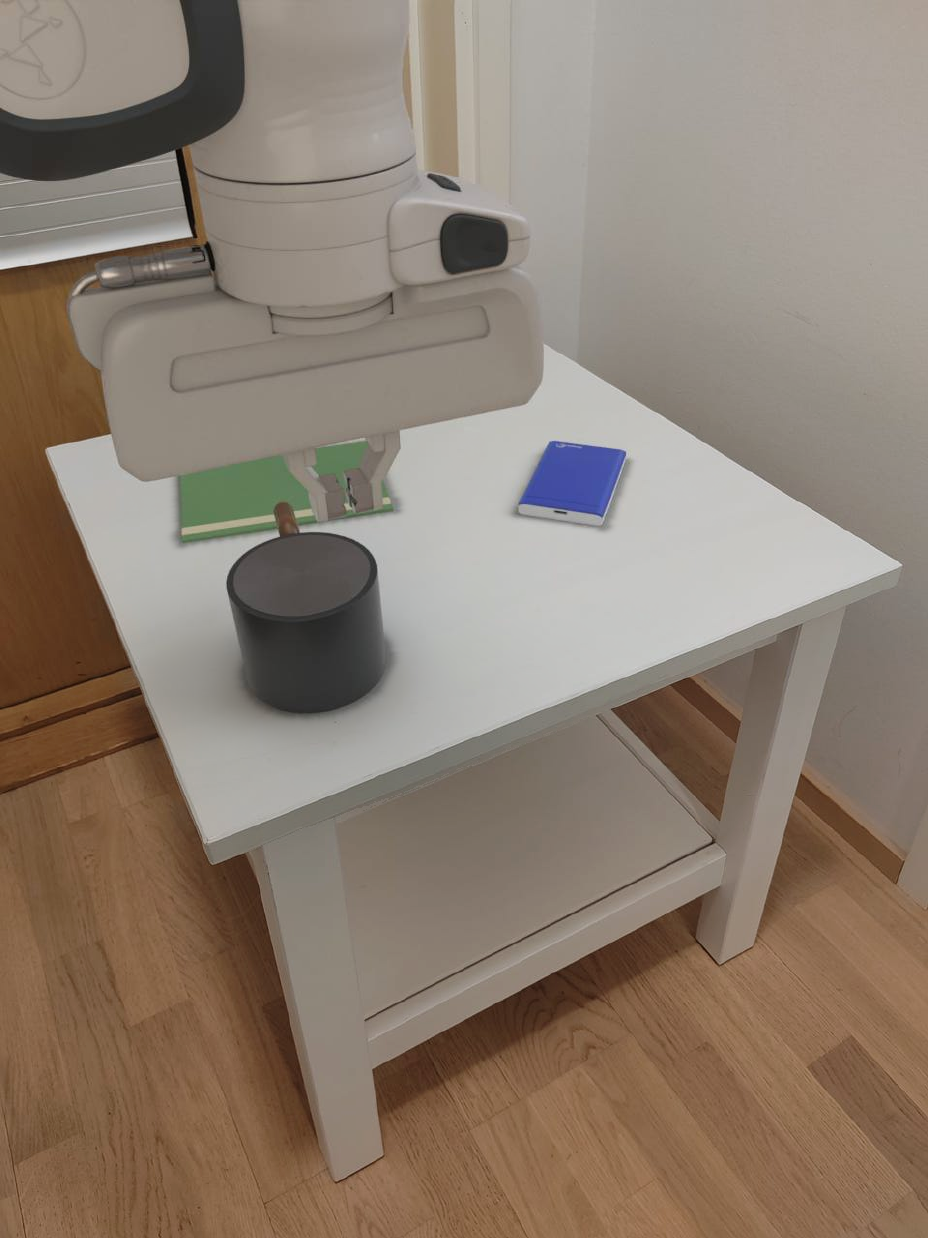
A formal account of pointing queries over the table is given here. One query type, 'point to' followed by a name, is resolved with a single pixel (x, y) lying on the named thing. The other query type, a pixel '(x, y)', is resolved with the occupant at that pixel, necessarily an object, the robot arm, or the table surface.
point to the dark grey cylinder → (308, 618)
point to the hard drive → (573, 483)
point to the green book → (259, 494)
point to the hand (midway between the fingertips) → (347, 510)
